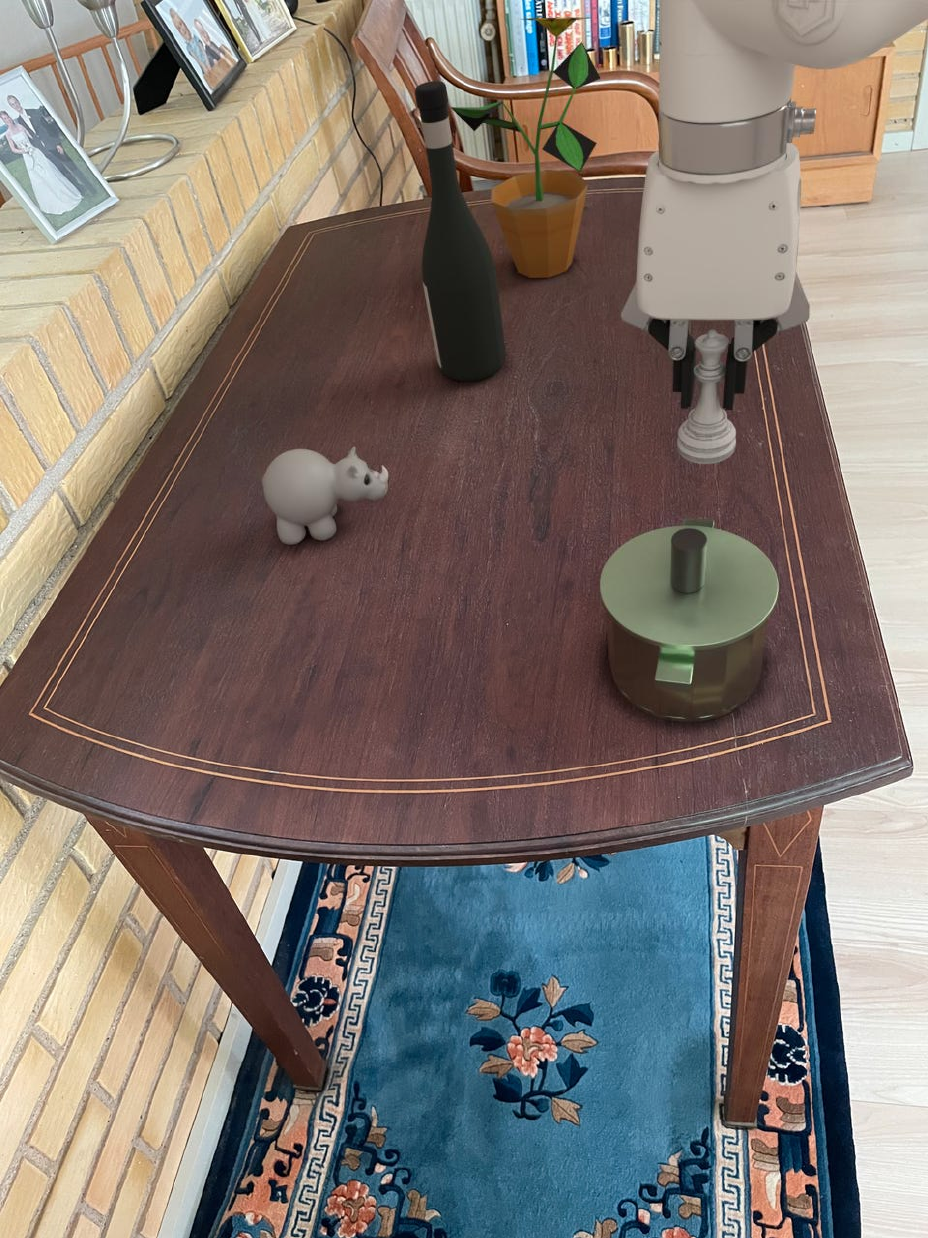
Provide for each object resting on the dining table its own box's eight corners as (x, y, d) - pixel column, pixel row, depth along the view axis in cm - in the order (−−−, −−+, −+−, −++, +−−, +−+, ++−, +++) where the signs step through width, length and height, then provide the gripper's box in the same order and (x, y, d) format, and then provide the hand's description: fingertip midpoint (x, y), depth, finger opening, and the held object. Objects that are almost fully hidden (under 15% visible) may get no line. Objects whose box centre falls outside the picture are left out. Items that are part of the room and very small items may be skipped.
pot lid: (781, 542, 68) (788, 487, 65) (772, 666, 60) (780, 612, 57) (615, 530, 72) (613, 478, 68) (586, 646, 64) (582, 594, 60)
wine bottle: (426, 377, 108) (371, 97, 86) (464, 344, 112) (420, 69, 91) (482, 391, 104) (439, 101, 83) (520, 356, 108) (488, 72, 87)
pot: (766, 596, 76) (776, 516, 70) (753, 762, 65) (763, 684, 59) (627, 584, 79) (625, 507, 73) (592, 740, 68) (587, 664, 62)
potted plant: (641, 264, 120) (639, -6, 99) (515, 311, 116) (486, 40, 94) (571, 222, 132) (556, -26, 111) (454, 264, 128) (416, 14, 106)
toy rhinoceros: (398, 537, 88) (379, 465, 82) (275, 555, 88) (248, 485, 82) (397, 492, 93) (380, 420, 87) (282, 509, 94) (256, 440, 88)
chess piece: (728, 428, 72) (737, 310, 65) (741, 461, 69) (752, 341, 62) (672, 435, 73) (675, 319, 66) (682, 468, 70) (686, 349, 63)
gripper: (866, 104, 55) (824, 374, 68) (600, 120, 60) (608, 370, 73) (867, 152, 50) (822, 433, 63) (578, 165, 55) (591, 424, 68)
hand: (708, 397), depth 68 cm, fingers closed on chess piece, 2 cm apart
